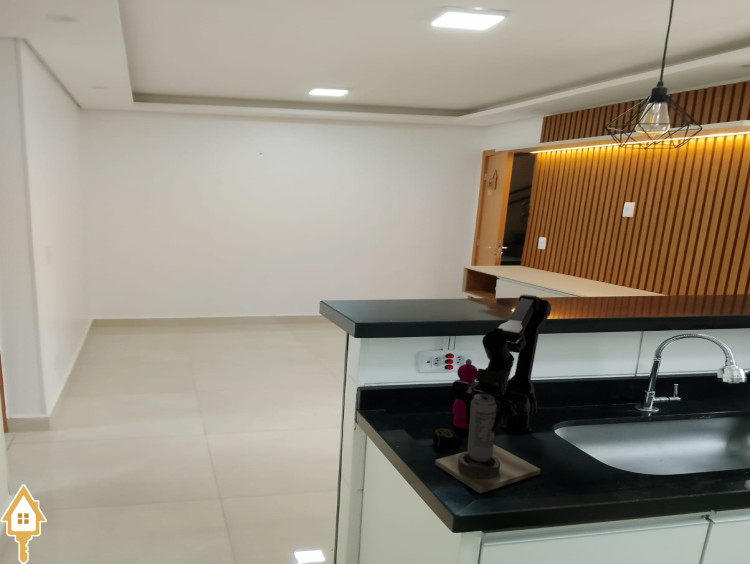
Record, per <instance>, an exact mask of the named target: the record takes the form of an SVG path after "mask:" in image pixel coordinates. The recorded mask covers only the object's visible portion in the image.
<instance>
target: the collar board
mask: <svg viewBox="0 0 750 564" xmlns="http://www.w3.org/2000/svg"><path fill="white" fill-rule="evenodd" d="M434 462H435V463H434V465H436V466H437V467H438V468H440V469H441V470H442V471H445V472H446V473H448V474H450V475H451V476H453V478H455V479H457V480H458V481H460V482H462V483H463V484H464V485H466V486H468V488H469V487H470V488H471V489H472V490H474V491H475V492H477V493H479V494H483V493H485V492H489V491H492V490H495V489H498V488H501V487H504V486H507V485H510V484H513V483H517V482H519V481H522V480H526V479H529V478H532V477H534V476H538V475H541V468H539V467H537V466H536V465H533V464H532V463H529V462H528V461H526V460H524V459H521V458H520V457H519V456H517V455H514V454H512V453H511V452H509V451H508V450H505V449H503V448H501V447H499V446H497V445H495V444H494V446H493V456H492V457H490V459H489V460H488V461H476V460H474V459H472V458H471V457H470V456H469V454H468V452H467V451H464V452H460V453H456V454H453V455H452V454H451V455H449V456H445V457H441V458H438V459H435V461H434Z"/></svg>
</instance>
